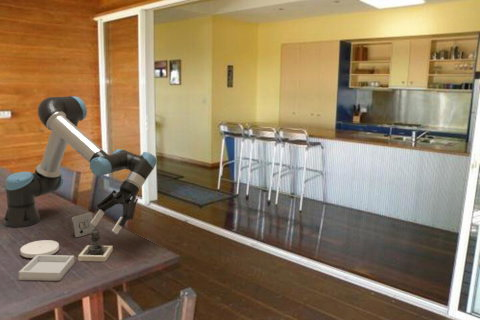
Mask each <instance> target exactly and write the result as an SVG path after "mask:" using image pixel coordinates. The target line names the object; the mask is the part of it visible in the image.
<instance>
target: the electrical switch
mask: <svg viewBox="0 0 480 320" xmlns="http://www.w3.org/2000/svg"><path fill="white" fill-rule="evenodd" d="M93 218H94V217H93V214H92V212H87V213H83V214H79V215H75V216H72V218H70V222H71V228H72V233H73V236H75V238H80V237H83V236H87V235H92V234H91V232H92V230H94V228H95V226H94V225H93V224H91V221H92V220H93Z"/></svg>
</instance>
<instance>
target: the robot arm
mask: <svg viewBox="0 0 480 320" xmlns="http://www.w3.org/2000/svg"><path fill="white" fill-rule="evenodd" d="M87 113H88V110H87V106H86V104H85V102H84V101H83V100H82V98H80V97H79V96H75V95H74V96H72V95H68V96H49V97H45V99H42V101H40V103H39V104H38V108H37V117H38V118H39V121H40V122H41V123H42V124H43V125H44V127H45V128H46V129H48V130H50V133H49V136H48V139H47V144H46V146H45V149H44V153H43V155H42V159H41V162H40V164H38V165H36V167H35V170H34V172H33V173H32V172H31V171H21V172H15V173H12V174H10V175H8V176H7V177H6V179H5V191H6V192H5V195H6V205H7V206H6V207H7V208H6V212H5V215H4V218H3V219H4V220H3V223H4V224H3V225H4V226H6V227H8V228H9V227H10V228H23V227H30V226H33V225H35V224H38V223H39V222H40V221H41V218H40V217H41V216H40V213H39V211H38V209H37V206H36V201H35V198H38V197H40V196H44V195H49V194H53V193H54V192H57V191H58V190H60V189H61V188H62V186H63V183H64V178H63V173H62V171H61V169H60V166H61V164H62V161H63V158H64V155H65V152H66V150H67V147H68V145H69V146H70V147H72V149H74V151H76V152H77V153H78V154H79V155H80V156H81V157H83V158H84V159H85V160H86V161H87V162H88V163H89V169H90V171H91V173H92V174H93V175H95V176H106V175H109V174H112V173H115V172H119V171H124V170H128V171H129V172H128V174H127V176H126V177H125V178H124V181H123V182H122V183H121V185H120V186H119V191H116V190H115V189H114V190H112V191H111V193H110V194H109V195H108V196H106V197H105V198H103V200H101V201H100V202H99V203H98V204H97V205H96V207H97V208H98V209H97V211H96V213H95V214H94V216H93V217H92V218H93V220H92V221H91V224H93V225H94V227H97V225H98V224H99V222H100V220H101V219H102V218H103V216H104V215H105V213H106V212H105V211H107V210H109V209H110V208H112V207H114V206H115V205H122V215H121V216H120V217H119V218H118V220H117V222H116V224H115V225H114V226H113V228H112V230H111V232H113V233H114V234H115V235H118V234H119V232H120V231H121V229H122V227H124V226H125V224H126V223H127V221H128V220H130V221H132V220H133V219H134V216H135V211H136V206H137V203H138V201H139V198H138V197H136V196H137V195H138V193H139V191H140V190H141V188H142V187H143V185H144V184H145V182H146V180H147V178H148V177H149V176H150V175H151V174H152V172H153V170H155V167H156V165H157V163H158V159H157V157H156V156H155V155H153V154H152V153H150V152H149V151H144V152H142V153H141V154H140V155H139V154H135V153H132V152H131V151H128V150H126V149H122V148H121V149H120V148H117V149H116V150H115V151H113V152H112V154H108V153H107V152H105V151H104V150H103V149H102V148H101V147H100V146H99V145H98V144H96V143H95V142H94V141H93V140H92V139H91V138H90V137H89V136H87V134H85V132H83V131H82V130H81V129H80V128H79V127H78V124H79V122H82V121H84V120H85V118H86V117H87Z"/></svg>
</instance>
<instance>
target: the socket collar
mask: <svg viewBox="0 0 480 320" xmlns="http://www.w3.org/2000/svg"><path fill="white" fill-rule="evenodd" d="M89 246H91V244H90V245H89V244H87V245H86V246H85V247H84V248H83V249H82V251H81V252H80V253H79V254H78V256H77V259H78V261H79V262H106V261H107V260H108V258H109V257H110V255H111V253H112V252H113V251H114V248H113V246H114V245H103V246H104V247H103V250H102V252H104V253H103V255H90V254H89V253H90V252H89V249H88V247H89Z"/></svg>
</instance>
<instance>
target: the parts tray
mask: <svg viewBox="0 0 480 320" xmlns="http://www.w3.org/2000/svg"><path fill="white" fill-rule="evenodd" d="M74 264H75V255H67V254H66V255H64V254H63V255H59V254H58V255H57V254H56V255H55V254H51V255H36V256H35V257H34V258H31V260H30V261H29V262H27V263H26V264H25V265H24V266H23V267H22V268H21V269H20V270H18V279H19V281H46V282H47V281H49V282H53V281H55V282H60V281H61V280H62V279H63V278H64V276H65V275H66V274H67V273H68V271H69V270H71V268H72V267H73V265H74Z"/></svg>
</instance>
